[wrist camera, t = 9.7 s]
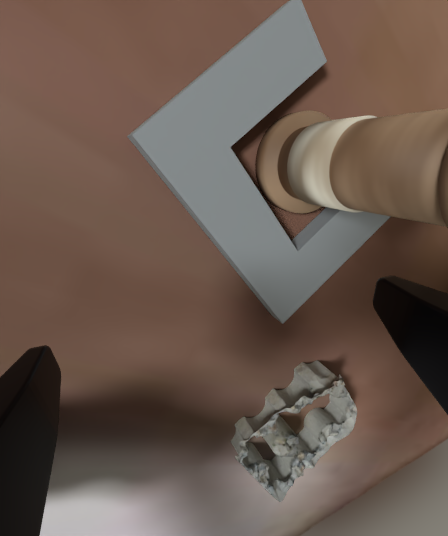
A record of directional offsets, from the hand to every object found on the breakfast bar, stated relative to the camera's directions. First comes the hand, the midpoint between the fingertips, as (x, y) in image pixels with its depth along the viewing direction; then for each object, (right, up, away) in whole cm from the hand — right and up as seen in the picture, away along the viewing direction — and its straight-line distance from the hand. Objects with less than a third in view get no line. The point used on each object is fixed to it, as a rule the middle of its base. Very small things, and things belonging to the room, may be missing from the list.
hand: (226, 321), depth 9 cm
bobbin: (+5, +9, +14) cm, 17 cm away
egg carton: (+5, -11, +21) cm, 25 cm away
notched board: (+4, +7, +14) cm, 16 cm away
